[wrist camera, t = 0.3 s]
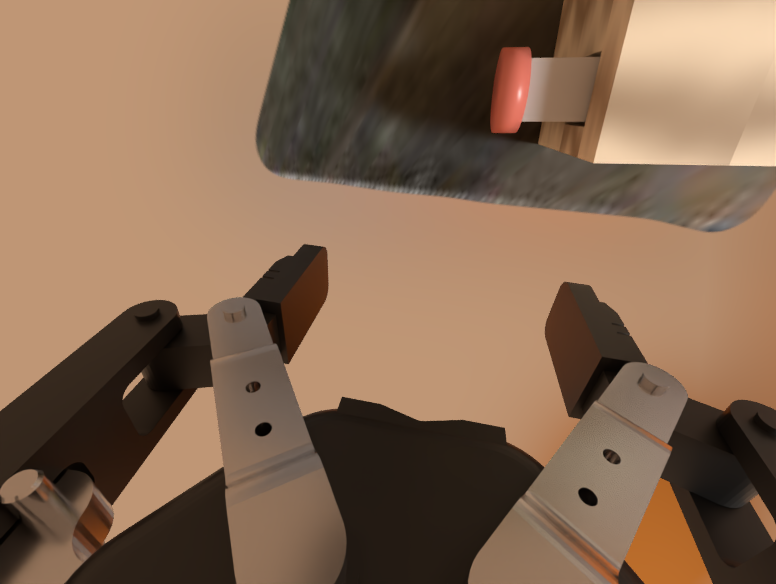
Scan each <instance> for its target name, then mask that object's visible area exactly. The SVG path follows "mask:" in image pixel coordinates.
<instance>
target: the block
mask: <svg viewBox="0 0 776 584" xmlns="http://www.w3.org/2000/svg"><path fill="white" fill-rule="evenodd" d="M562 57H600V61H599V66H598V70H597V74H596V79H595V83H594V87H593V91H592V96H591V100H590V104H589V109H588V113H587V117H586V122H542V124H541V130H540V136H539V141H538V144H539V145H542V146H545V147H548V148H551V149H554V150H557V151H559V152H562V153H565V154H568V155H571V156H574V157H577V158H580V159H583V160H586V161H589V162H592V163H617V164H677V165H738V166H776V0H564V2H563V8H562V14H561V19H560V25H559V30H558V36H557V41H556V47H555V52H554V58H562Z"/></svg>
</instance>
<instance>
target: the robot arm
mask: <svg viewBox="0 0 776 584" xmlns="http://www.w3.org/2000/svg"><path fill="white" fill-rule="evenodd" d="M327 293H328V260H327V250H326V248H325V247H321V246H314V245H306V244H304V245H303V246H302V247H301V248H300V249H299V250H298V252H296V254H295V255H294V256H286V257H284V258H282V259H280V260H278V261H276V262H275V263H274V264H273V265H272V266H271V268H270V269H269V271H267V272H266V273H265V274H264V275H263V277H262V278H260V279H259V280H258V281H257V283H256V284H255V285H254V286H253V287H252V288H251V289H250V290H249V291H248V292H247V293H246V294H245V296H243V297H239V298H231V299H227V300H224V301H221V302H219V303H217V304H216V305H214V306H213V307H212V308H211V309H210V310H209V311H208V314H204V315H185V316H180V315H179V312H178V309H177V306H176V305H175V304H174V303H172V302H170V301H165V300H154V301H148V302H143V303H140V304H138V305H135V306H133V307H131V308H129V309H127V310H126V311H125V312H123V313H122V314H121V315H119V316H118V317H117V318H116V319H114V320H113V321H112V322H111V323H110V324H108V325H107V326H106V327H104V328H103V329H102V330H101V331H99V333H97V334H96V335H95V336H93V337H92V338H91V339H90V340H88V341H87V342H86V343H85V344H84V345H82V346H81V347H80V348H78V349H77V350H76V351H75V352H73V353H72V354H71V355H70V356H68V357H67V358H66V359H65V360H63V361H62V362H61V363H60V364H58V365H57V366H56V367H55V368H53V369H52V370H51V371H50V372H48V373H47V374H46V375H45V376H43V377H42V378H41V379H40V380H39V381H37V382H36V383H35V384H34V385H32V386H31V387H30V388H29V389H27V390H26V391H25V392H24V393H22V394H21V395H20V396H19V397H17V398H16V399H15V400H14V401H13V402H11V403H10V404H9V405H7V406H6V407H5V408H4V409H2V410H1V411H0V584H644V583H643V581H642V580H641V579H640V578H639V577H638V576H637V574H636V573H635V572H634V571H633V570H632V569H631V567H630V566H629V565H628V564H627V563H626V561H625V560H624V559H625V556H626V554H627V552H628V550H629V547H630V545H631V543H632V541H633V538H634V536H635V534H636V531H637V529H638V527H639V525H640V522H641V520H642V518H643V515H644V513H645V511H646V509H647V506H648V504H649V502H650V499H651V497H652V495H653V493H654V490H655V488H656V486H657V483H658V481H659V479H660V478H662V479H664V480H667V481H669V482H670V484H671V486H672V489H673V491H674V493H675V496H676V498H677V501H678V503H679V505H680V508H681V510H682V512H683V514H684V517H685V519H686V522H687V524H688V526H689V528H690V531H691V533H692V536H693V538H694V540H695V543H696V545H697V547H698V550H699V552H700V554H701V557H702V559H703V561H704V564H705V566H706V568H707V571H708V573H709V575H710V578H711V580H712V583H713V584H776V540H775V542H773V541H772V539H771V537H770V535H769V534H768V532H767V530H766V529H765V527H764V525H763V524H762V522H761V520H760V518H759V517H758V515H757V513H756V512H755V510H754V508H753V507H752V505H751V503H750V500H751V499H753V498H754V497H755V496H756V495H758V494H759V495H760V497H761V499H762V500H763V502H764V503H765V505H766V507H767V508H768V510H769V511H770V513H771V515H772V517H773V518H774V520H775V523H776V410H774V409H772V408H770V407H767V406H765V405H762V404H760V403H757V402H753V401H748V400H737V401H734V402H732V404H731V405H730V406H729V407H728V408H727V409H726V410H725V411H722V410H719V409H716V408H714V407H711V406H708V405H706V404H703V403H700V402H698V401H695V400H692V399H690V398H688V395H687V392H686V390H685V388H684V387H683V386H682V384H681V383H680V382H679V381H678V380H677V379H676V378H674V377H673V376H672V375H670V374H669V373H667V372H665V371H664V370H662V369H660V368H657V367H655V366H653V365H650V364H648V363H647V361H646V360H645V358H644V356H643V355H642V353H641V352H640V350H639V348H638V347H637V345H636V343H635V342H634V340H633V338H632V337H631V336H629V335H630V333H629V332H628V330H627V328H626V327H624V323H623V322H622V320H621V319H620V317H619V315H618V314H617V313H616V312H615V311H614V310H613V309H611V308H610V307H609V306H608V305H607V304H605V303H603V302H599V300H598V298H597V296H596V295H595V293H594V291H593V289H592V287H591V286H589V285H584V284H577V283H570V282H564V283H563V284H562V285H561V286H560V289H559V291H558V294H557V296H556V299H555V301H554V303H553V306H552V308H551V311H550V313H549V316H548V318H547V321H546V326H545V338H546V341H547V345H548V348H549V351H550V355H551V358H552V361H553V365H554V368H555V372H556V375H557V379H558V382H559V385H560V389H561V392H562V396H563V399H564V403H565V406H566V409H567V413H568V416H569V417H573V418H578V419H581V420H580V421H579V423H578V424H577V426H576V427H575V428H574V429H573V431H572V432H571V433H570V435H569V436H568V437H567V439H566V440H565V441H564V443H563V444H562V445H561V447H560V448H559V449H558V451H557V452H556V453H555V455H554V456H553V457H552V459H551V460H550V461H549V463H548V464H547V465H546V467H545V468H544V467H543V466H542V465H541V464H540V463H539V462H538V461H536V460H535V459H534V458H533V457H531V456H530V455H528V454H527V453H525V452H524V451H523V450H521V449H519V448H517V447H515V446H514V445H512V444H510V443H507V442H506V434H505V428H502V427H497V426H492V425H486V424H481V423H476V422H471V421H465V420H449V421H418V420H416V419H413V418H411V417H409V416H406V415H404V414H402V413H400V412H397V411H395V410H393V409H390V408H388V407H386V406H384V405H381V404H377V403H372V402H366V401H361V400H356V399H351V398H345V397H342V399H341V401H340V404H339V407H338V409H330V410H324V411H319V412H315V413H312V414H309V415H306V416H302V413H301V411H300V408H299V405H298V402H297V400H296V397H295V394H294V391H293V388H292V385H291V382H290V380H289V377H288V374H287V371H286V368H285V366H284V363H285V364H289V363H290V361H291V359H292V357H293V356H294V354H295V352H296V351H297V349H298V347H299V345H300V344H301V342H302V340H303V338H304V336H305V335H306V333H307V331H308V330H309V328H310V326H311V325H312V323H313V321H314V319H315V318H316V316H317V314H318V313H319V311H320V309H321V307H322V306H323V304H324V302H325V300H326V297H327ZM141 372H142V374H143V377H144V378H143V379H142V380H141V381H140V382H139V383H138V384H137V385H136V386H135V388H134V389H133V390H132V391H131V392H130V393H129V394H128V395H127V396H126V397H125V398H124V399H123V394H124V392H125V390H126V388H127V387H128V385H129V384H130V383H131V382H132V381H133V380H134V379H135V378H136V377H137V375H139V374H140V373H141ZM202 387H213V388H214V394H215V403H216V410H217V418H218V426H219V434H220V442H221V449H222V456H223V465H224V467H222V468H221V469H219V470H218V471H216V472H214V473H213V474H211V475H210V476H208V477H207V478H205V479H204V480H202V481H200V482H199V483H197V484H196V485H194V486H193V487H191V488H190V489H188V490H187V491H185V492H183V493H182V494H180V495H179V496H177V497H176V498H174V499H173V500H171V501H169V502H168V503H166V504H165V505H164V506H162V507H160V508H159V509H157V510H156V511H154V512H153V513H151V514H149V515H148V516H146V517H145V518H143V519H142V520H140V521H139V522H137V523H135V524H134V525H132V526H131V527H129V528H128V529H126V530H125V531H123V532H122V533H120V534H119V535H117V536H116V537H114V538H113V539H111V540H110V541H109V542H107V543H105V542H104V540H105V539H106V537H107V535H108V533H109V531H110V529H111V526H112V523H113V519H114V513H113V508H112V505H113V503H114V502H115V500H116V499H117V498H118V497H119V495H120V494H121V492H122V491H123V490H124V488H125V487H126V486H127V484H128V482H129V481H130V480H131V479H132V477H133V476H134V475H135V473H136V472H137V470H138V469H139V468H140V466H141V465H142V464H143V462H144V461H145V459H146V458H147V457H148V455H149V454H150V453H151V451H152V450H153V449H154V447H155V446H156V444H157V443H158V442H159V440H160V439H161V438H162V436H163V435H164V434H165V432H166V431H167V429H168V428H169V427H170V425H171V424H172V423H173V421H174V420H175V419H176V417H177V416H178V414H179V413H180V412H181V410H182V409H183V407H184V406H185V405H186V403H187V402H188V401H189V399H190V398H191V397H192V395H193V394H194V392H195V391H196V390H197V388H202ZM122 399H123V400H122Z"/></svg>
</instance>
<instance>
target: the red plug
mask: <svg viewBox="0 0 776 584" xmlns="http://www.w3.org/2000/svg"><path fill="white" fill-rule="evenodd" d="M599 61H600V57H562V58H532V57H531V50H530V47H503V48H502V50H501V52H500V55H499V59H498V63H497V68H496V73H495V79H494V85H493V93H492V102H491V117H490V126H491V132H492V133H516V132H517V131H518V129H519V127H520V124H521V122H586V117H587V113H588V109H589V104H590V100H591V96H592V91H593V87H594V83H595V79H596V74H597V70H598V66H599Z"/></svg>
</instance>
